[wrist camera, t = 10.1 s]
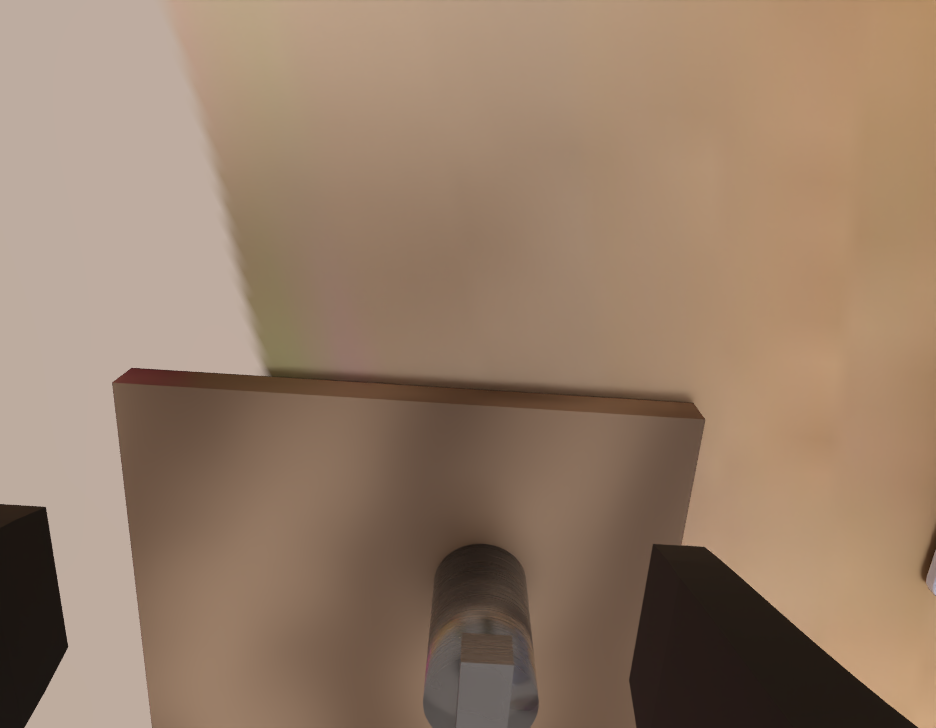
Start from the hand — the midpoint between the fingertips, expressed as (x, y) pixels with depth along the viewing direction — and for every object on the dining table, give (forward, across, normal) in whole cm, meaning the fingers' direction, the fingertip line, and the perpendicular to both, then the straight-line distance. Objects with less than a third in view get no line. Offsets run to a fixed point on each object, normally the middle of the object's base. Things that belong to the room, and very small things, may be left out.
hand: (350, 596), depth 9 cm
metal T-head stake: (+8, -2, +6) cm, 11 cm away
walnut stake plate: (+9, 0, +7) cm, 12 cm away
